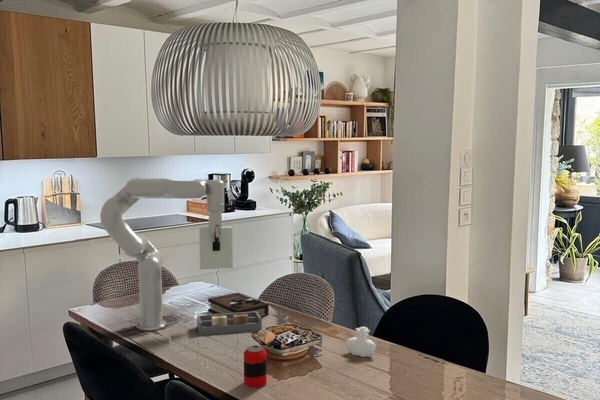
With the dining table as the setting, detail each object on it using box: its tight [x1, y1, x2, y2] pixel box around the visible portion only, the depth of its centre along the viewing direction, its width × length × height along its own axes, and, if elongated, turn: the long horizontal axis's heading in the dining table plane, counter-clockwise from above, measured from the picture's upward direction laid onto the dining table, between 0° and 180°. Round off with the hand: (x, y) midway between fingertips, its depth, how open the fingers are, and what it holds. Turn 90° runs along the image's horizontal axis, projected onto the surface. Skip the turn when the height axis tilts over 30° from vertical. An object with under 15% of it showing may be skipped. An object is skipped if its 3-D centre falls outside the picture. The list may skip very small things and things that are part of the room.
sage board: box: [198, 226, 234, 270], centre depth 247 cm, size 14×2×18 cm, turn 105°
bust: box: [345, 326, 377, 358], centre depth 215 cm, size 12×8×11 cm
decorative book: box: [207, 292, 270, 318], centre depth 263 cm, size 19×8×30 cm
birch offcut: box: [212, 316, 227, 326], centre depth 237 cm, size 6×3×6 cm, turn 105°
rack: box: [196, 311, 263, 336], centre depth 240 cm, size 26×10×6 cm, turn 105°
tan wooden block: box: [233, 314, 248, 324], centre depth 239 cm, size 6×3×6 cm, turn 105°
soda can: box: [243, 345, 268, 389], centre depth 188 cm, size 8×8×12 cm
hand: (215, 249), depth 247 cm, fingers closed on sage board, 2 cm apart
